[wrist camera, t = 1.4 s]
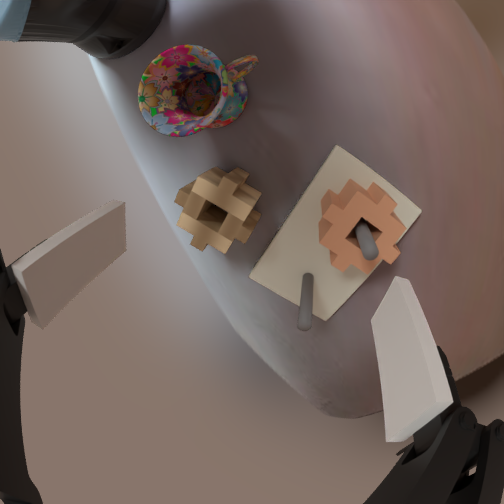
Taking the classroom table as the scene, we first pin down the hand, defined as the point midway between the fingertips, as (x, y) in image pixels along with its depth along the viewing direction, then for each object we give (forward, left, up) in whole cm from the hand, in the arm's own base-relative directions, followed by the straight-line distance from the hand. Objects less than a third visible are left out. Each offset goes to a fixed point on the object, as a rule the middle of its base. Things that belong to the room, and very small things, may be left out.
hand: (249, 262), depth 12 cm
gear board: (+10, -5, -24) cm, 26 cm away
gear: (-5, -8, -24) cm, 25 cm away
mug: (-12, +5, -24) cm, 27 cm away
